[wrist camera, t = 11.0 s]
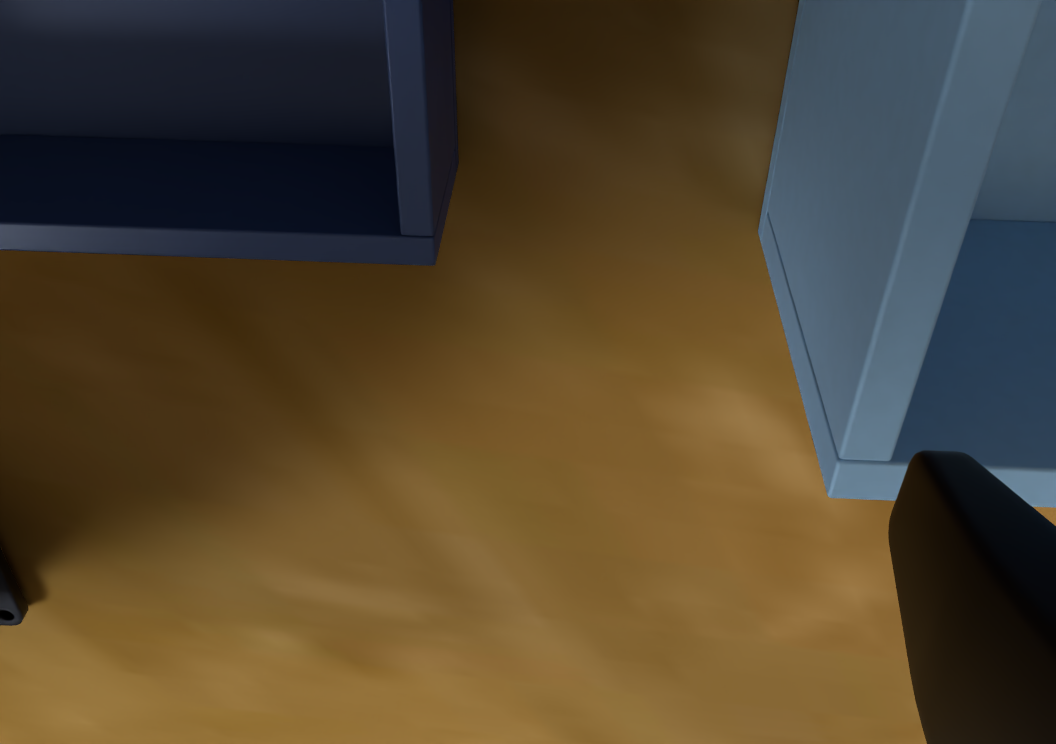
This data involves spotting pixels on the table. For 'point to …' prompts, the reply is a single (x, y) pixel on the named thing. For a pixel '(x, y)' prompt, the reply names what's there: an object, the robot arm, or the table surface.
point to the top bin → (919, 237)
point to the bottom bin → (228, 128)
